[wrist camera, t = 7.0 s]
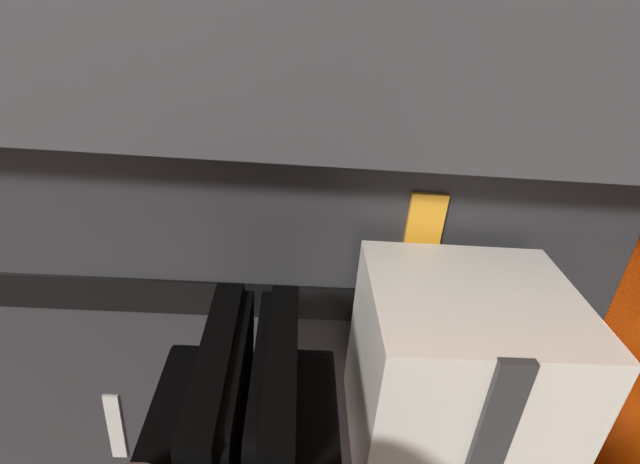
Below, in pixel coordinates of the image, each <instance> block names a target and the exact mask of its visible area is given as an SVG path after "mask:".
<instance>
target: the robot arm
mask: <svg viewBox="0 0 640 464" xmlns="http://www.w3.org/2000/svg"><path fill="white" fill-rule="evenodd" d="M298 296H299V286H289V285H273V288H272V292H269V291H262V296H261V303H260V311H259V318H258V326H257V333H256V341H255V348H254V291H247V290H245V284H244V283H224V282H218V283H217V285H216V288H215V292H214V296H213V299H212V303H211V306H210V310H209V313H208V317H207V320H206V324H205V327H204V331H203V335H202V338H201V342H200V345H199V346H196V345H173V346H172V347H171V349H170V351H169V354H168V357H167V359H166V362H165V365H164V368H163V371H162V373H161V376H160V379H159V382H158V385H157V387H156V390H155V393H154V396H153V399H152V401H151V404H150V407H149V410H148V413H147V415H146V418H145V421H144V424H143V427H142V429H141V432H140V435H139V438H138V441H137V443H136V446H135V449H134V452H133V455H132V457H131V460H130V463H126V464H342V457H341V444H340V430H339V417H338V404H337V391H336V378H335V364H334V354H333V351H326V350H300V349H297V348H298Z"/></svg>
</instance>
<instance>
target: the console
mask: <svg viewBox="0 0 640 464" xmlns="http://www.w3.org/2000/svg"><path fill="white" fill-rule="evenodd" d="M639 237H640V0H0V464H126V463H130V460H131V457H132V455H133V452H134V449H135V446H136V443H137V441H138V438H139V435H140V432H141V429H142V427H143V424H144V421H145V418H146V415H147V413H148V410H149V407H150V404H151V401H152V399H153V396H154V393H155V390H156V387H157V385H158V382H159V379H160V376H161V373H162V371H163V368H164V365H165V362H166V359H167V357H168V354H169V351H170V349H171V347H172V346H173V345H196V346H199V345H200V342H201V338H202V335H203V331H204V327H205V324H206V320H207V317H208V313H209V310H210V306H211V303H212V299H213V296H214V292H215V288H216V285H217V283H218V282H224V283H244V284H245V290H247V291H254V348H255V341H256V333H257V326H258V318H259V311H260V303H261V296H262V291H269V292H272V288H273V285H289V286H299V296H298V348H297V349H300V350H326V351H333V354H334V364H335V378H336V391H337V404H338V417H339V430H340V444H341V457H342V464H352V459H351V448H350V438H349V428H348V417H347V407H346V396H345V386H344V373H345V365H346V358H347V350H348V342H349V335H350V327H351V319H352V311H353V304H354V296H355V288H356V281H357V273H358V265H359V258H360V250H361V242H362V240H366V241H386V242H405V243H424V244H444V245H463V246H483V247H502V248H521V249H541V250H543V251H544V252H545V253H546V254H547V255H548V256H549V258H550V259H551V260H552V261H553V262H554V263H555V265H556V266H557V267H558V268H559V269H560V270H561V272H562V273H563V274H564V275H565V276H566V277H567V279H568V280H569V281H570V282H571V283H572V284H573V286H574V287H575V288H576V289H577V290H578V291H579V293H580V294H581V295H582V296H583V297H584V298H585V300H586V301H587V302H588V303H589V304H590V305H591V307H592V308H593V309H594V310H595V311H596V312H597V314H598V315H599V316H600V317H601V318H602V319H603V320H604V318H605V316H606V313H607V311H608V309H609V306H610V304H611V302H612V299H613V297H614V295H615V292H616V290H617V288H618V285H619V283H620V281H621V278H622V276H623V274H624V271H625V269H626V267H627V265H628V262H629V260H630V258H631V255H632V253H633V251H634V248H635V246H636V244H637V241H638V239H639Z"/></svg>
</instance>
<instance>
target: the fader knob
mask: <svg viewBox="0 0 640 464" xmlns="http://www.w3.org/2000/svg"><path fill="white" fill-rule="evenodd" d="M639 373H640V363H639V361H638V360H637V359H636V358H635V357H634V356H633V354H632V353H631V352H630V351H629V350H628V349H627V347H626V346H625V345H624V344H623V343H622V342H621V340H620V339H619V338H618V337H617V336H616V335H615V333H614V332H613V331H612V330H611V329H610V328H609V326H608V325H607V324H606V323H605V322H604V321H603V319H602V318H601V317H600V316H599V315H598V314H597V312H596V311H595V310H594V309H593V308H592V307H591V305H590V304H589V303H588V302H587V301H586V300H585V298H584V297H583V296H582V295H581V294H580V293H579V291H578V290H577V289H576V288H575V287H574V286H573V284H572V283H571V282H570V281H569V280H568V279H567V277H566V276H565V275H564V274H563V273H562V272H561V270H560V269H559V268H558V267H557V266H556V265H555V263H554V262H553V261H552V260H551V259H550V258H549V256H548V255H547V254H546V253H545V252H544V251H543V250H541V249H521V248H502V247H483V246H463V245H444V244H424V243H405V242H386V241H366V240H362V242H361V250H360V258H359V265H358V273H357V281H356V288H355V296H354V304H353V311H352V319H351V327H350V335H349V342H348V350H347V358H346V365H345V373H344V386H345V396H346V407H347V417H348V428H349V438H350V448H351V459H352V464H594V462H595V460H596V458H597V456H598V454H599V452H600V450H601V448H602V446H603V444H604V442H605V440H606V438H607V436H608V434H609V432H610V430H611V428H612V426H613V424H614V422H615V420H616V418H617V416H618V414H619V412H620V410H621V408H622V406H623V404H624V402H625V400H626V398H627V396H628V394H629V392H630V391H631V389H632V387H633V385H634V383H635V381H636V379H637V377H638V375H639Z"/></svg>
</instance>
